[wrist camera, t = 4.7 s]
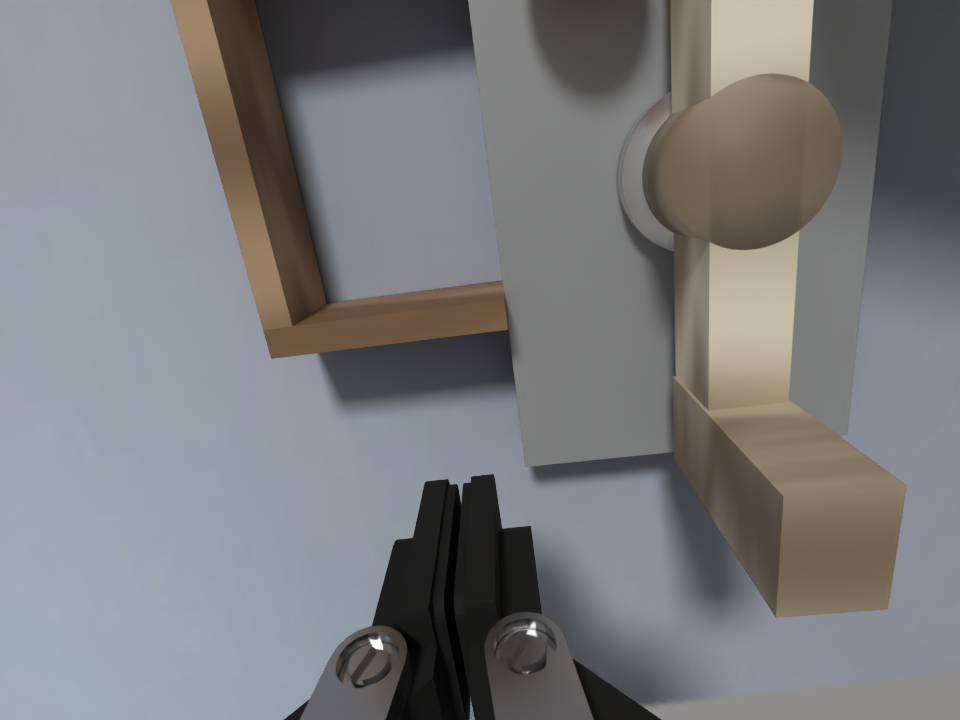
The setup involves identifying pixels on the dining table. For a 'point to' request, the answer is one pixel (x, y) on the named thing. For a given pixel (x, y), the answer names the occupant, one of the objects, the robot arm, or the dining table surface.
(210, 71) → the wooden u-shaped frame
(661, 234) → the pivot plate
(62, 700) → the dining table surface
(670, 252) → the deck
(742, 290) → the lever
